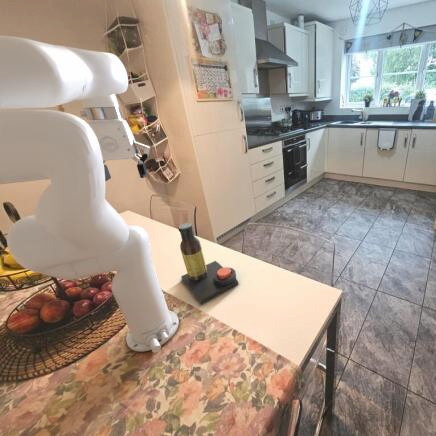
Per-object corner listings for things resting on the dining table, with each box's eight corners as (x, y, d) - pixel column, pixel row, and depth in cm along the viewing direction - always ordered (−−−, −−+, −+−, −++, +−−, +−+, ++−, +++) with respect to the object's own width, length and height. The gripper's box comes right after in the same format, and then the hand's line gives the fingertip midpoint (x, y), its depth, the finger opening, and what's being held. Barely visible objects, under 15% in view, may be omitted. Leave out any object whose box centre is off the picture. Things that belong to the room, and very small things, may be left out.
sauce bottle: (195, 269, 88) (183, 219, 79) (211, 270, 87) (200, 220, 78) (184, 280, 82) (170, 228, 74) (201, 282, 81) (188, 230, 72)
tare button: (233, 275, 82) (233, 271, 81) (221, 281, 79) (221, 277, 79) (227, 269, 85) (226, 265, 84) (215, 275, 82) (214, 271, 82)
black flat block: (241, 282, 83) (240, 274, 81) (201, 304, 74) (199, 296, 73) (219, 263, 94) (217, 255, 92) (182, 280, 85) (179, 272, 84)
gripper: (57, 117, 59) (85, 184, 67) (135, 114, 62) (153, 179, 70) (75, 115, 66) (99, 177, 73) (144, 113, 69) (160, 172, 76)
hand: (125, 178), depth 71 cm, fingers open, 9 cm apart
